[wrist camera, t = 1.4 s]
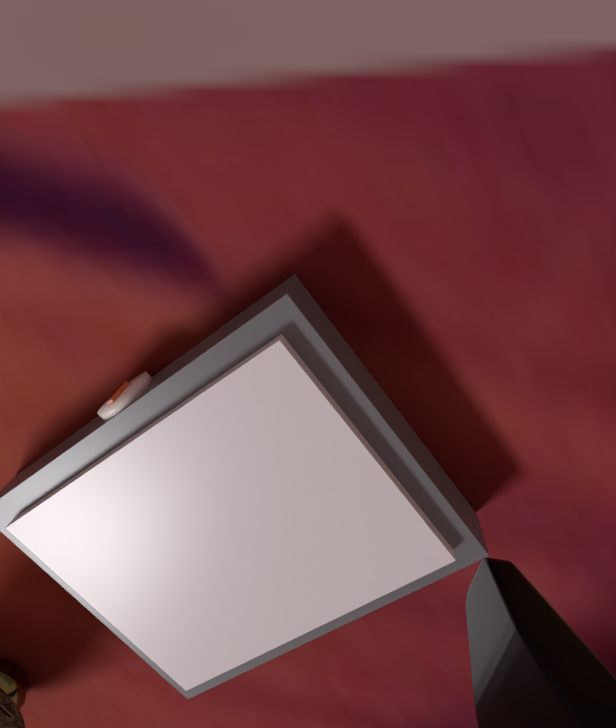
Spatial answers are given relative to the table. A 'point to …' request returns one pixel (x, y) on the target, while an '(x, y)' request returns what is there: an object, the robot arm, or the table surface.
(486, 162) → the table surface
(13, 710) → the cup
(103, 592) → the dial scale
